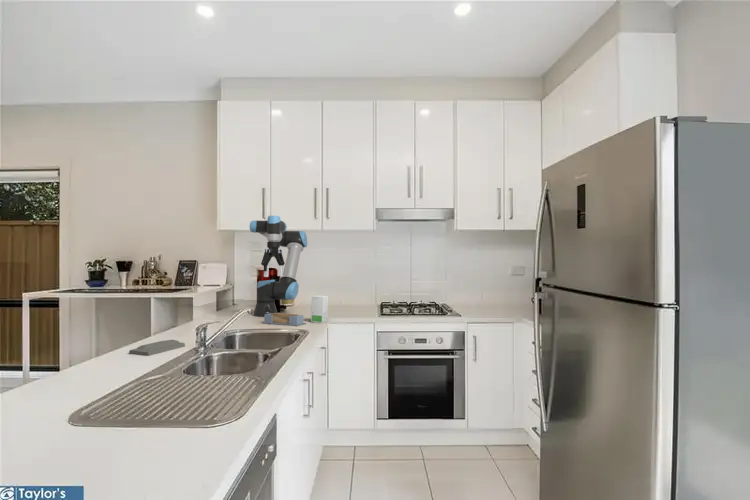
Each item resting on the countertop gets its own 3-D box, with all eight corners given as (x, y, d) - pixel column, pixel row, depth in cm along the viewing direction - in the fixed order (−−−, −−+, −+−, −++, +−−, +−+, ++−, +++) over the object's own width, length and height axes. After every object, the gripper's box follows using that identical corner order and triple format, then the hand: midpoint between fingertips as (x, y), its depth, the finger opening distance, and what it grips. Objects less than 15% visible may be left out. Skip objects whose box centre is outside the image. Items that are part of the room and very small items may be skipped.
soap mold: (127, 355, 174) (128, 346, 174) (166, 346, 192) (166, 338, 193) (148, 357, 170) (148, 348, 170) (186, 347, 189) (186, 339, 189)
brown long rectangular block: (274, 321, 263) (274, 312, 263) (297, 323, 256) (297, 314, 256) (270, 322, 259) (270, 313, 259) (294, 324, 253) (294, 315, 253)
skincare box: (310, 322, 265) (310, 296, 265) (316, 321, 271) (316, 295, 271) (323, 323, 261) (323, 296, 262) (328, 321, 268) (328, 295, 268)
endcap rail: (271, 321, 267) (271, 312, 268) (306, 323, 258) (306, 315, 258) (261, 323, 258) (261, 314, 258) (296, 326, 249) (296, 317, 249)
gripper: (280, 242, 284) (279, 275, 283) (255, 240, 261) (254, 276, 260) (290, 242, 281) (290, 275, 280) (266, 240, 258) (265, 277, 257)
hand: (273, 276), depth 270 cm, fingers open, 13 cm apart
